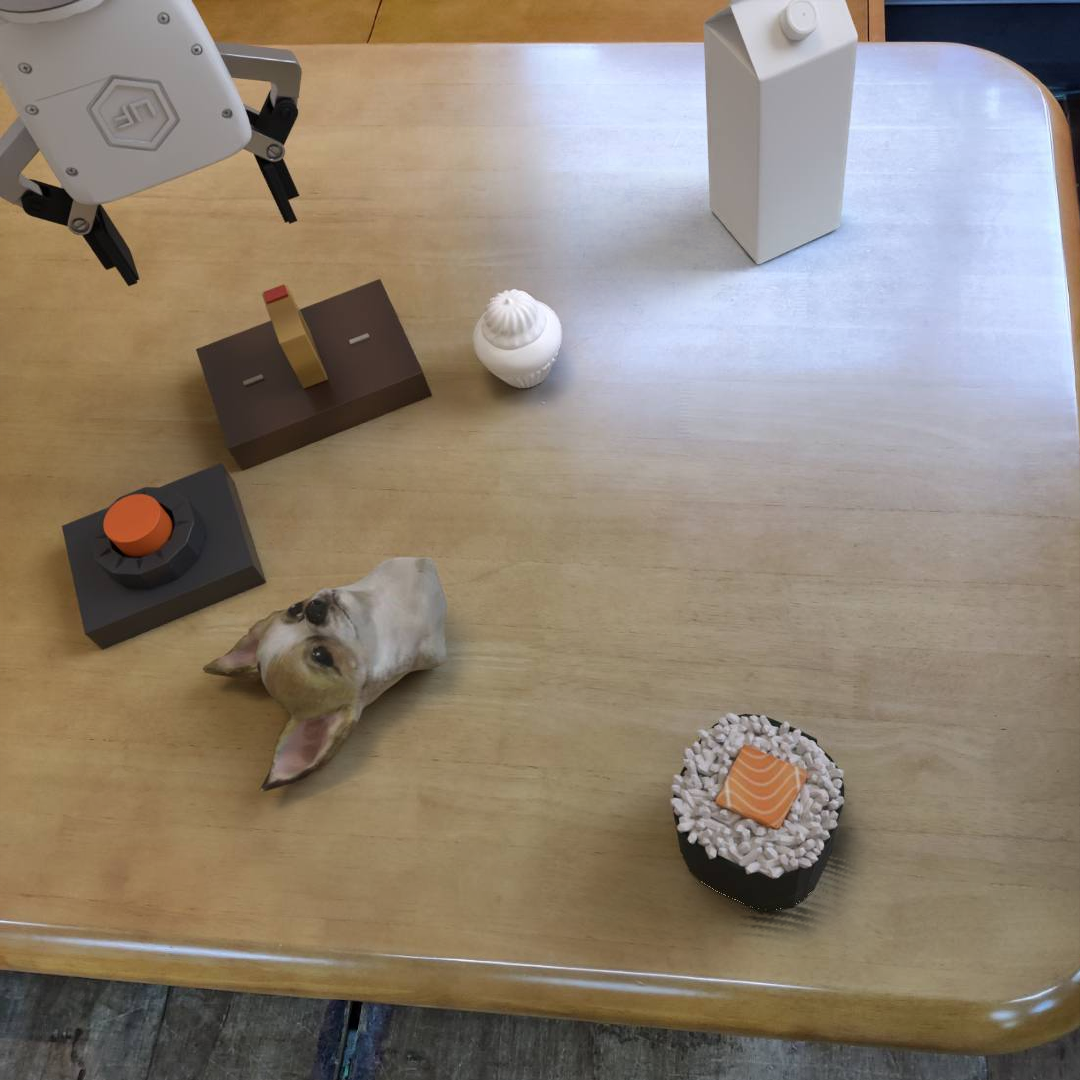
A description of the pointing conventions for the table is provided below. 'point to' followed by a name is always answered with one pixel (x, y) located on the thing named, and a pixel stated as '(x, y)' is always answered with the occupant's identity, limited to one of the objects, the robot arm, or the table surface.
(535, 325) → the muffin
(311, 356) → the lock knob
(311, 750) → the ceramic sculpture
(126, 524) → the bell button
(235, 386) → the plate
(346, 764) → the table surface
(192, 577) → the push button base
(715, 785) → the sushi
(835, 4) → the milk carton
